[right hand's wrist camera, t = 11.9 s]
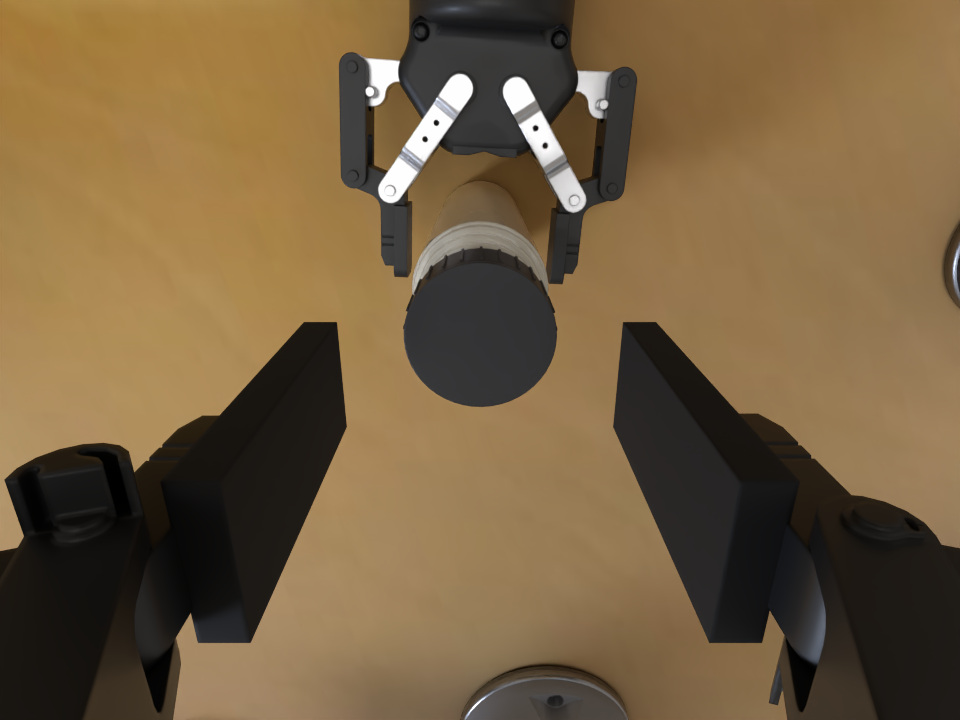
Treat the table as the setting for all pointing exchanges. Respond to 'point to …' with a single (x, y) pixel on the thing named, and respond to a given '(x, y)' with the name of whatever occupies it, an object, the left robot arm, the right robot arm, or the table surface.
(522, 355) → the cap
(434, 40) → the left robot arm
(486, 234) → the bottle
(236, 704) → the table surface
